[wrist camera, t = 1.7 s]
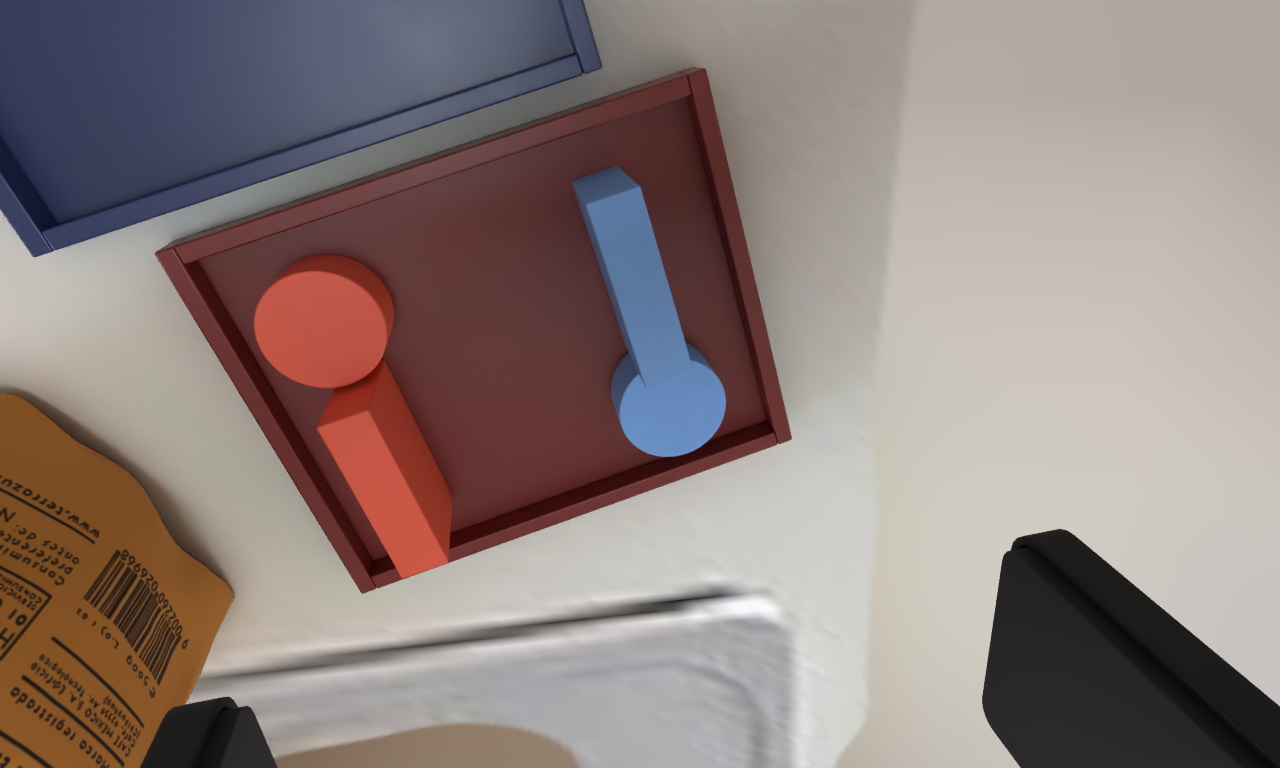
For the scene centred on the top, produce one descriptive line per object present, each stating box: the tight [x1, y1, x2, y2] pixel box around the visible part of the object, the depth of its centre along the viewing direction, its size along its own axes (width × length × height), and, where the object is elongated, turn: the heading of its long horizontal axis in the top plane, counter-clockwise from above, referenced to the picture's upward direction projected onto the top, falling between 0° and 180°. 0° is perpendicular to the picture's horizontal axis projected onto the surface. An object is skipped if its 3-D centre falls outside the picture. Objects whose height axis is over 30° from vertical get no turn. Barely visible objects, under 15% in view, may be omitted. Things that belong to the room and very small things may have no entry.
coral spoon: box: [254, 254, 453, 579], centre depth 24 cm, size 10×4×4 cm, turn 16°
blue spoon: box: [572, 166, 726, 457], centre depth 25 cm, size 10×4×4 cm, turn 16°
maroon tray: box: [155, 67, 792, 593], centre depth 26 cm, size 17×14×1 cm
